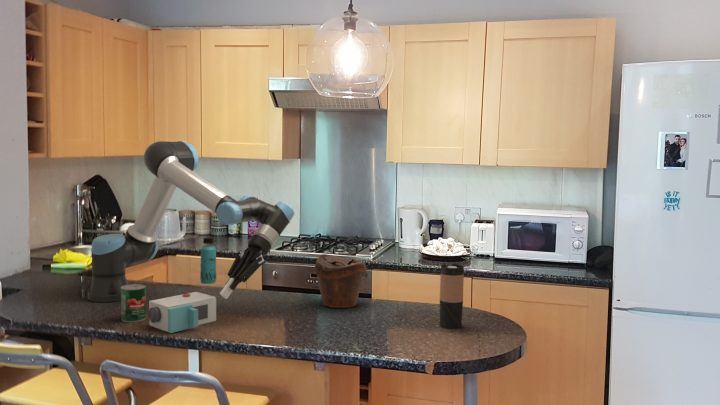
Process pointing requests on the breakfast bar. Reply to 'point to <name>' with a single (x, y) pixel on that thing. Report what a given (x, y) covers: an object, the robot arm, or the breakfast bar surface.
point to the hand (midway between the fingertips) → (223, 296)
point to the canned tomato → (133, 303)
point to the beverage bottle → (208, 262)
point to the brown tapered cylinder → (339, 280)
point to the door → (182, 318)
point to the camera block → (198, 301)
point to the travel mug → (451, 295)
